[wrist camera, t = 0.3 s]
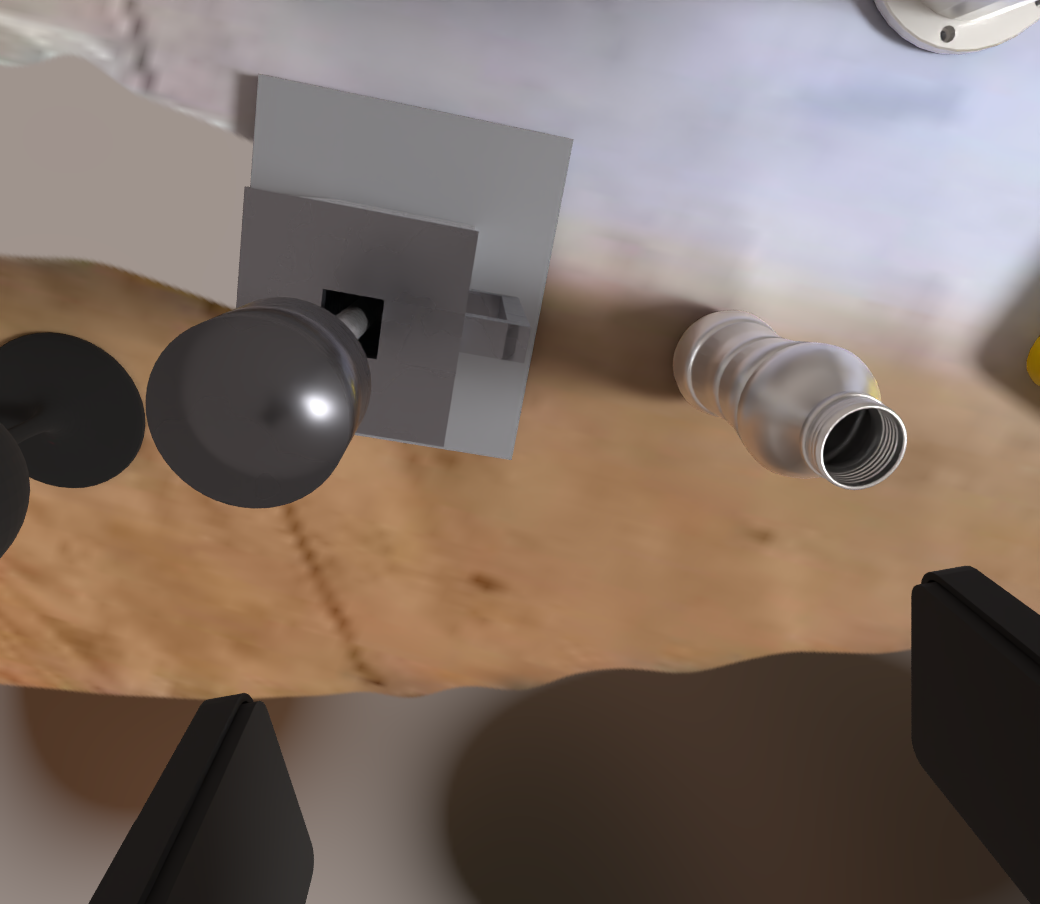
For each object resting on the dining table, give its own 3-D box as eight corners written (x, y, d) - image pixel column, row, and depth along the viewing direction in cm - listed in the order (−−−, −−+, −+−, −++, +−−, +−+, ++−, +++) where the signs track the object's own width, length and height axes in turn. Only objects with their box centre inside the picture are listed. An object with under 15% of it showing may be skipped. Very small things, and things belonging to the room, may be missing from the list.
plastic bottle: (644, 367, 49) (748, 469, 30) (711, 283, 47) (865, 333, 28) (717, 422, 50) (860, 552, 31) (784, 342, 49) (977, 428, 30)
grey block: (331, 194, 44) (244, 186, 28) (526, 232, 45) (552, 245, 29) (315, 341, 46) (228, 412, 30) (501, 373, 47) (511, 457, 31)
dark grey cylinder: (329, 249, 34) (148, 299, 16) (424, 267, 35) (360, 336, 16) (319, 343, 35) (142, 492, 17) (411, 359, 36) (337, 521, 17)
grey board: (264, 77, 43) (258, 73, 41) (571, 141, 44) (573, 139, 43) (239, 410, 48) (233, 415, 47) (510, 454, 50) (511, 459, 49)
